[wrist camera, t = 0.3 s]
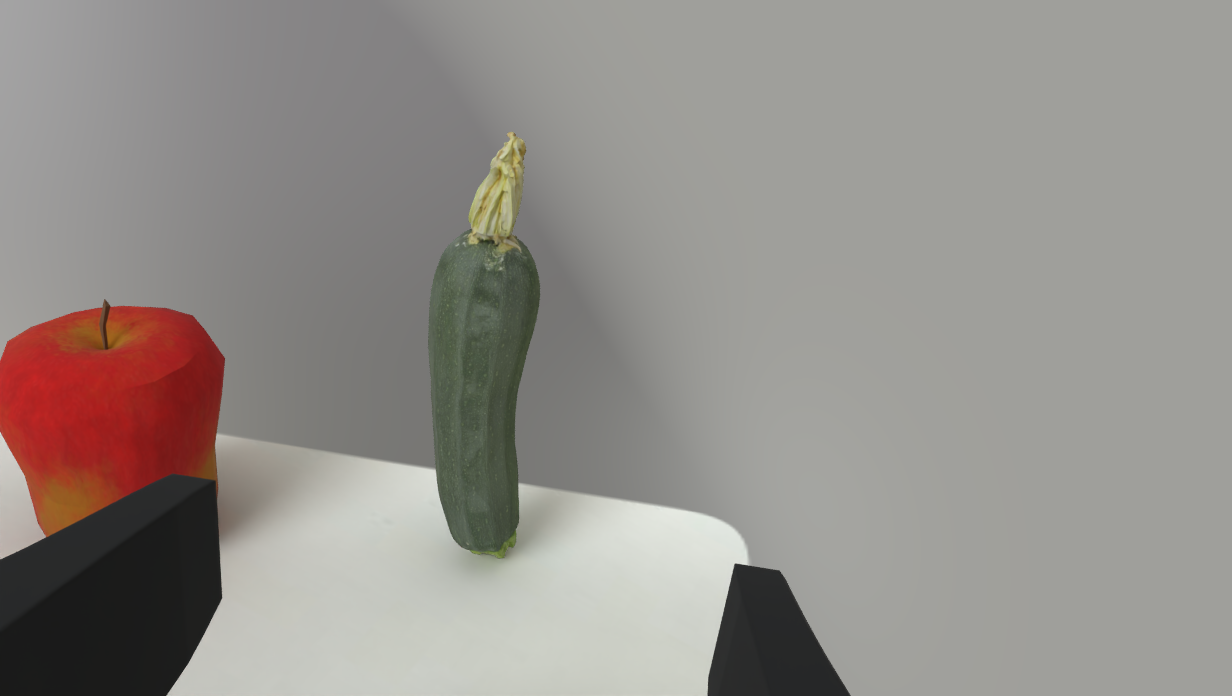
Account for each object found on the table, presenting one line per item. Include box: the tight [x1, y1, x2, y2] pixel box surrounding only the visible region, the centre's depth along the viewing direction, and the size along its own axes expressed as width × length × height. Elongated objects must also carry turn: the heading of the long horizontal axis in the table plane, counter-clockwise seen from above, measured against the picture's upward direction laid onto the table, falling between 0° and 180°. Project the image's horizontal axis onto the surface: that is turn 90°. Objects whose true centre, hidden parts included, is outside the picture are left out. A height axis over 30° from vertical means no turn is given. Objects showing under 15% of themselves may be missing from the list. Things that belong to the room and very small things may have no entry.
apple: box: [0, 300, 225, 537], centre depth 40 cm, size 9×8×12 cm
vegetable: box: [428, 132, 540, 558], centre depth 40 cm, size 4×4×20 cm
